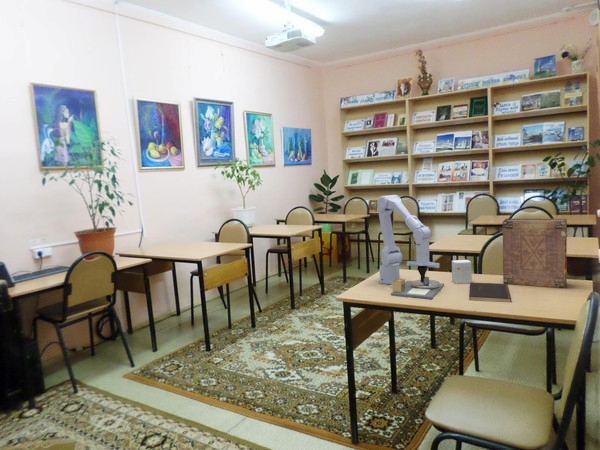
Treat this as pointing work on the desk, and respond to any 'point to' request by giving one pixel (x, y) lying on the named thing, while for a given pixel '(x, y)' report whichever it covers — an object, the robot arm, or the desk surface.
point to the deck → (428, 296)
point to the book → (535, 252)
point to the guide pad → (419, 291)
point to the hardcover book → (489, 292)
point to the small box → (461, 271)
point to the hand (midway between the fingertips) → (423, 281)
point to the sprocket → (425, 284)
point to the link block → (398, 285)
